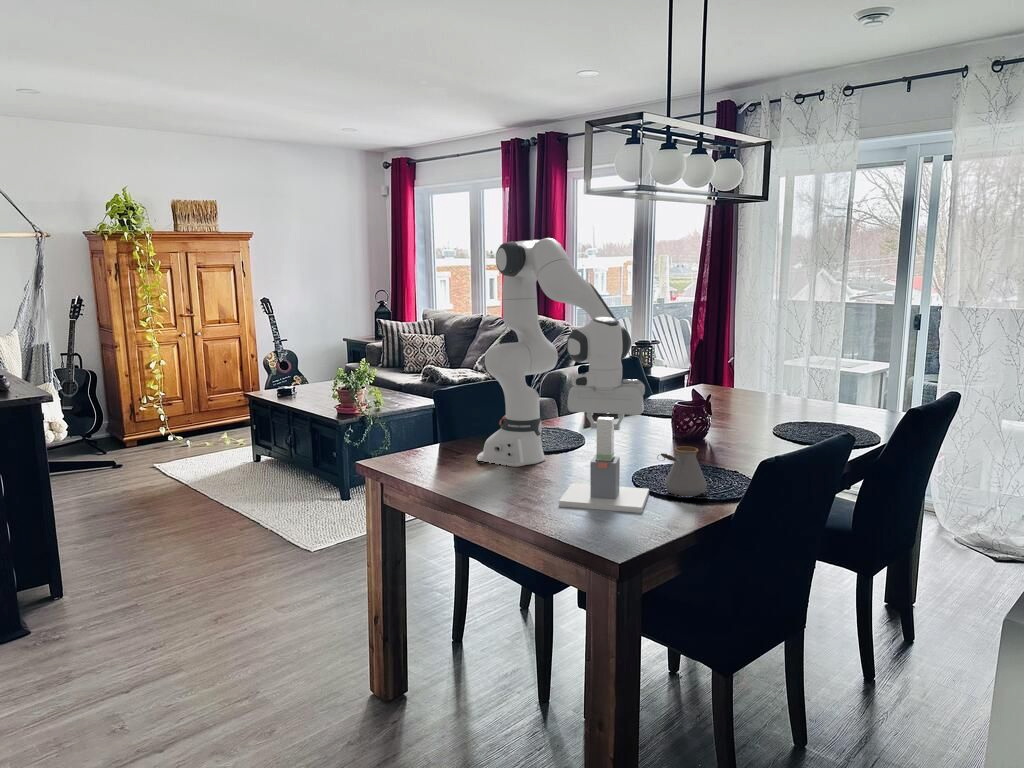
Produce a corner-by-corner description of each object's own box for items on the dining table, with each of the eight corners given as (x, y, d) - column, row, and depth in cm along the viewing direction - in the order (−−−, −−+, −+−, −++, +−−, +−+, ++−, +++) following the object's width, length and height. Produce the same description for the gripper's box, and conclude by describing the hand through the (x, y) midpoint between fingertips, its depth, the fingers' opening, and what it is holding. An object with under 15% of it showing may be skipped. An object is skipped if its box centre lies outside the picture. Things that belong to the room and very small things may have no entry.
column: (596, 477, 198) (596, 420, 195) (599, 473, 202) (599, 416, 199) (611, 478, 197) (611, 420, 194) (613, 474, 201) (614, 417, 198)
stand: (559, 506, 196) (558, 464, 194) (571, 488, 211) (571, 449, 209) (641, 513, 190) (642, 470, 188) (648, 493, 205) (649, 454, 203)
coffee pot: (675, 484, 213) (676, 434, 210) (713, 492, 206) (714, 440, 203) (640, 505, 196) (640, 450, 194) (679, 513, 189) (681, 457, 186)
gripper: (646, 377, 195) (645, 428, 197) (571, 375, 201) (571, 424, 203) (643, 381, 189) (642, 433, 191) (565, 379, 195) (566, 429, 197)
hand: (605, 429), depth 197 cm, fingers open, 5 cm apart
